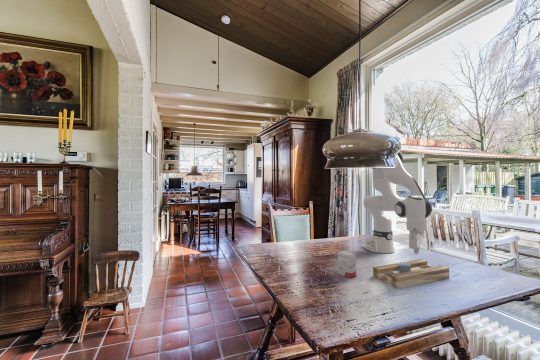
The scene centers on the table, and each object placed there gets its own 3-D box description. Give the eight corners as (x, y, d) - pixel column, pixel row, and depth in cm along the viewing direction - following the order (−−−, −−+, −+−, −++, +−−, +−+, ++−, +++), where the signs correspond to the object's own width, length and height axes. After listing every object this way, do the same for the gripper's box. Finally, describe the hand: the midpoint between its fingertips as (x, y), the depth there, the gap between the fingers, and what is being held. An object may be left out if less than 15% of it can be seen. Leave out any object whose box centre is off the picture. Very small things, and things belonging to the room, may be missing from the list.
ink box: (356, 276, 133) (356, 254, 133) (350, 278, 130) (350, 255, 130) (343, 271, 140) (343, 250, 140) (337, 273, 138) (337, 251, 138)
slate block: (399, 269, 134) (399, 262, 134) (410, 271, 131) (410, 263, 131) (399, 272, 129) (399, 264, 129) (410, 274, 127) (410, 266, 127)
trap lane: (373, 276, 133) (372, 267, 133) (420, 267, 144) (420, 258, 144) (398, 288, 117) (397, 277, 117) (449, 277, 129) (449, 267, 129)
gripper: (419, 231, 122) (420, 259, 123) (425, 223, 138) (426, 249, 139) (405, 230, 126) (405, 257, 127) (412, 222, 142) (413, 247, 143)
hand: (416, 253), depth 133 cm, fingers closed
